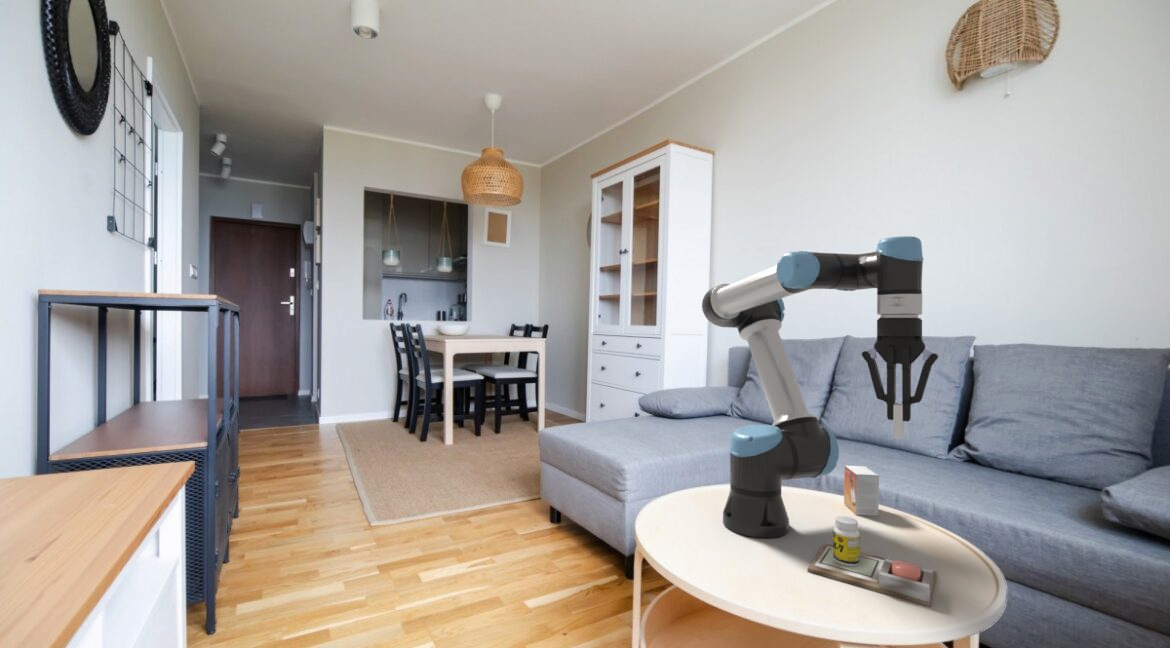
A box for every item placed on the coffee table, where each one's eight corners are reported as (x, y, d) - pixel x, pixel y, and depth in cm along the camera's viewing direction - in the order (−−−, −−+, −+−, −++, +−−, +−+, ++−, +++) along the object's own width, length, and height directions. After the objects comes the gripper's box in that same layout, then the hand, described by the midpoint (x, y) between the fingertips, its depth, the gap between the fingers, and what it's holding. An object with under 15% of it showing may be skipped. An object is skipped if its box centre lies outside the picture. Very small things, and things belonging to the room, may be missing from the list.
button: (890, 583, 92) (890, 567, 92) (893, 574, 96) (893, 558, 96) (919, 591, 89) (919, 574, 89) (921, 581, 93) (921, 565, 93)
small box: (843, 504, 136) (843, 465, 136) (865, 505, 135) (866, 465, 135) (855, 515, 128) (855, 473, 128) (879, 516, 127) (879, 474, 127)
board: (807, 571, 99) (807, 555, 99) (825, 546, 110) (825, 531, 110) (930, 607, 87) (930, 588, 87) (936, 575, 98) (936, 558, 98)
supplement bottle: (828, 556, 104) (828, 515, 104) (850, 555, 104) (850, 514, 104) (842, 567, 99) (842, 524, 99) (864, 566, 99) (865, 523, 99)
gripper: (858, 316, 100) (857, 435, 100) (938, 316, 92) (937, 446, 92) (865, 317, 106) (864, 429, 106) (941, 316, 98) (940, 438, 98)
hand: (898, 437), depth 99 cm, fingers closed
